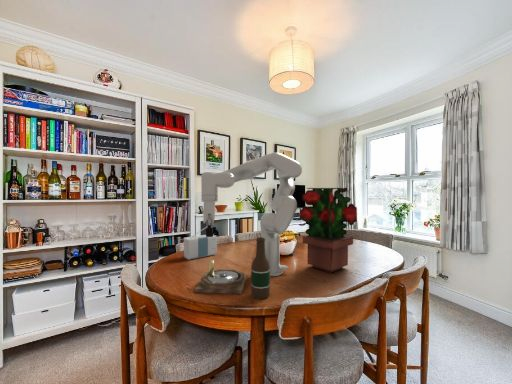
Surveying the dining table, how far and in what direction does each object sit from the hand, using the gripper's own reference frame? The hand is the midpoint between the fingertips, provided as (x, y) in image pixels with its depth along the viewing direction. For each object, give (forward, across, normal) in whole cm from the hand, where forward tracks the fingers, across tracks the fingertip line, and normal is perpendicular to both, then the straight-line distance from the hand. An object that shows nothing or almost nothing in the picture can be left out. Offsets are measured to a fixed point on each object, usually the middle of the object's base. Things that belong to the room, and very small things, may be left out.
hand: (209, 234), depth 114 cm
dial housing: (+23, +3, +6) cm, 24 cm away
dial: (+21, +3, +6) cm, 22 cm away
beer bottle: (+23, +18, +21) cm, 36 cm away
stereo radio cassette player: (+23, -46, -6) cm, 52 cm away
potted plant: (+23, -10, +65) cm, 70 cm away
